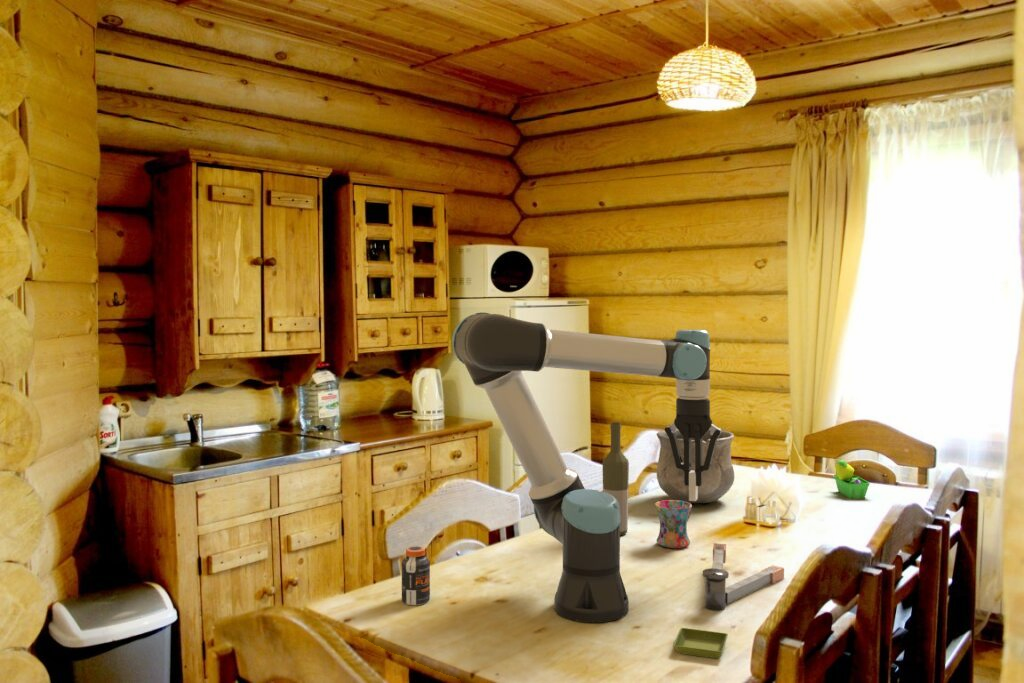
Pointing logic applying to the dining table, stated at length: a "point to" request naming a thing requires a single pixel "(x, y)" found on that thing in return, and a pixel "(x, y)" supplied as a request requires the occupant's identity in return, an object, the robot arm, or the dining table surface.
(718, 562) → the tong arm
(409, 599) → the pill bottle
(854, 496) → the fruit basket
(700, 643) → the green tray
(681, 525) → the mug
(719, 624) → the dining table surface
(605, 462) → the bottle
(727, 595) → the base
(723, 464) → the pot
